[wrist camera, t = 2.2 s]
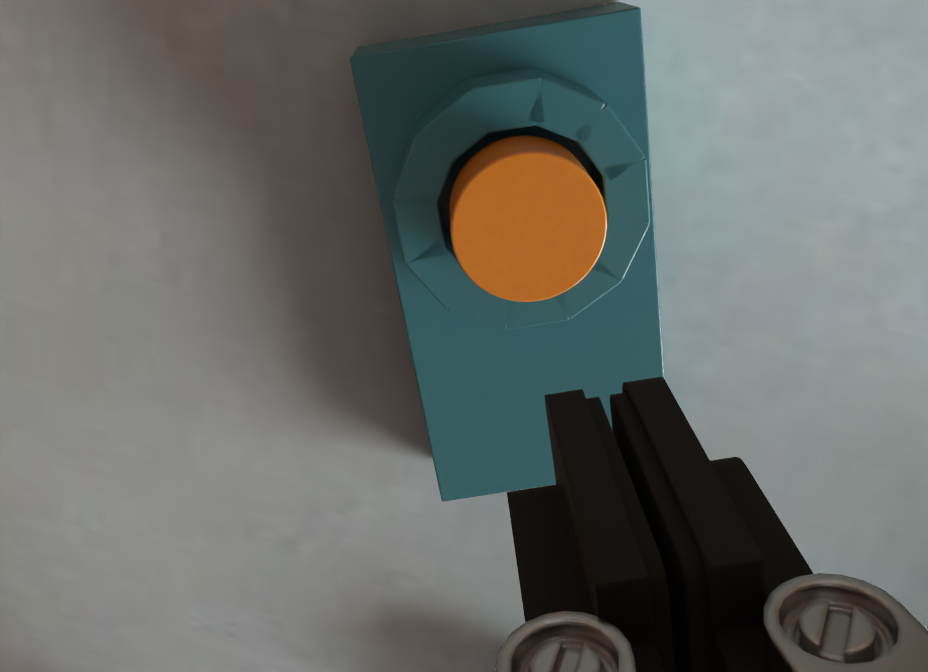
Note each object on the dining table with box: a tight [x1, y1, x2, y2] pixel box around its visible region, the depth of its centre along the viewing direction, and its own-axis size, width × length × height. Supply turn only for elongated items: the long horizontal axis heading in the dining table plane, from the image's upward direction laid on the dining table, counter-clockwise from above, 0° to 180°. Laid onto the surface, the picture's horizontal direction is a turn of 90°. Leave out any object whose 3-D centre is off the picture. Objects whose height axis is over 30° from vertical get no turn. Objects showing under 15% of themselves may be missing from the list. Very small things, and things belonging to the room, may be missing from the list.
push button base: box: [350, 2, 664, 501], centre depth 26 cm, size 15×8×4 cm, turn 9°
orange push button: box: [449, 135, 607, 302], centre depth 22 cm, size 4×4×2 cm
